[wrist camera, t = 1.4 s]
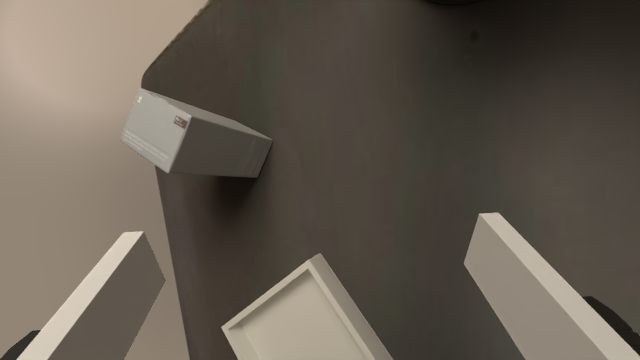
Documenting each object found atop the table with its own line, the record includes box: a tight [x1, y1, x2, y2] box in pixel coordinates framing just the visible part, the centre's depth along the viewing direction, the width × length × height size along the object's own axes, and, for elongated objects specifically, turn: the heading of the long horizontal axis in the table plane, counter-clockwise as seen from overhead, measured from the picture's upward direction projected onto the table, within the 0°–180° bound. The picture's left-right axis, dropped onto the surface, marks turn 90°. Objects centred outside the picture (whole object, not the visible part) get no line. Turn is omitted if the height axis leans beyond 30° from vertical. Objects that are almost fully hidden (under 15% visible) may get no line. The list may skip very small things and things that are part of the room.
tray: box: [221, 253, 393, 360], centre depth 37 cm, size 18×18×4 cm
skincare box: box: [121, 88, 273, 178], centre depth 36 cm, size 8×7×16 cm
